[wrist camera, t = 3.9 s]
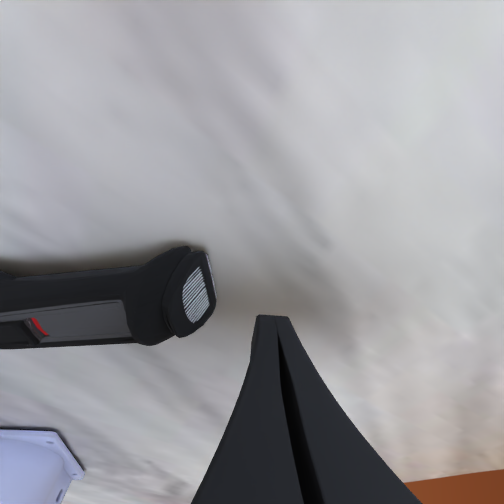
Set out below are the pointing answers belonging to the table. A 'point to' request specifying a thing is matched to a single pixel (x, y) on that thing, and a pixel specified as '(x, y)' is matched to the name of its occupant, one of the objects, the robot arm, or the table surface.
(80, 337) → the electric trimmer
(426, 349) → the table surface
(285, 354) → the robot arm
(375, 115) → the table surface
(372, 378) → the table surface
